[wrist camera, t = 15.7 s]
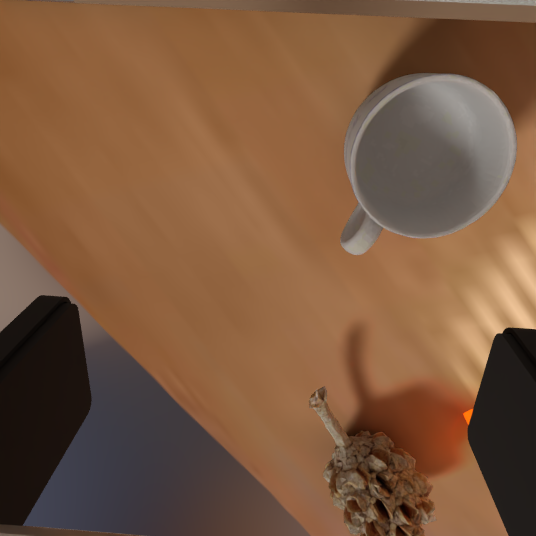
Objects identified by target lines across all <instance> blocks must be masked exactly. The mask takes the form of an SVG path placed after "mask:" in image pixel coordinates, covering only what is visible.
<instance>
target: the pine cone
mask: <svg viewBox="0 0 536 536" xmlns="http://www.w3.org/2000/svg"><path fill="white" fill-rule="evenodd" d="M326 400H327V390H326V388H325V386H324V387H322V388H320V389H319V390H316V391H315V392H314V394H312V395H311V398H310V401H309V408H314V410H315V411H316V412H317V413H318V415H319V416H320V417H321V419H322V421H323V422H324V424H325V427H326V428H327V430H328V431H329V432H330V434H331V435H332V437H333V438H334V440H335V443H336V447H335V453H333V455H332V460H331V461H330V462H328V463H327V464H326V466H325V471H324V474H323V477H324V478H325V479H326V480H327V481H328V482H330V483H329V488H330V489H331V494H330V497H331V499H333V505H335V506H337V507H338V508H340V509H343V510H344V523H346V526H348V529H349V531H350V533H351V534H355V535H356V534H358V533H360V536H424V529H422V528H421V526H422V524H427V523H429V522H433V521H436V517H435V514H434V512H433V511H434V510H435V507H434V502H432V501H431V500H430V499H428V498H427V497H428V496H429V493H430V492H431V491H432V488H433V486H432V485H431V484H430V483H429V482H428V481H427V477H426V476H424V475H423V474H421V473H420V472H417V471H415V470H414V469H415V459H414V458H413V457H411V456H410V453H407V452H404V450H403V449H402V448H394V442H392V441H391V440H390V438H389V437H387V436H386V435H385V434H384V432H379V433H376V434H374V435H370V433H369V431H365V432H364V431H361V432H360V433H357V434H356V435H355V437H354V436H350V437H348V435H347V434H346V433H345V431H344V430H343V429H342V427H341V426H340V424H339V422H338V421H337V419H336V418H335V417H334V415H333V414H332V412H331V411H330V409H329V407H328V404H327V402H326Z"/></svg>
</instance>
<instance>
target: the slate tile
mask: <svg viewBox="0 0 536 536" xmlns="http://www.w3.org/2000/svg"><path fill="white" fill-rule="evenodd" d="M28 1H51V2H74V0H28Z"/></svg>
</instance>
